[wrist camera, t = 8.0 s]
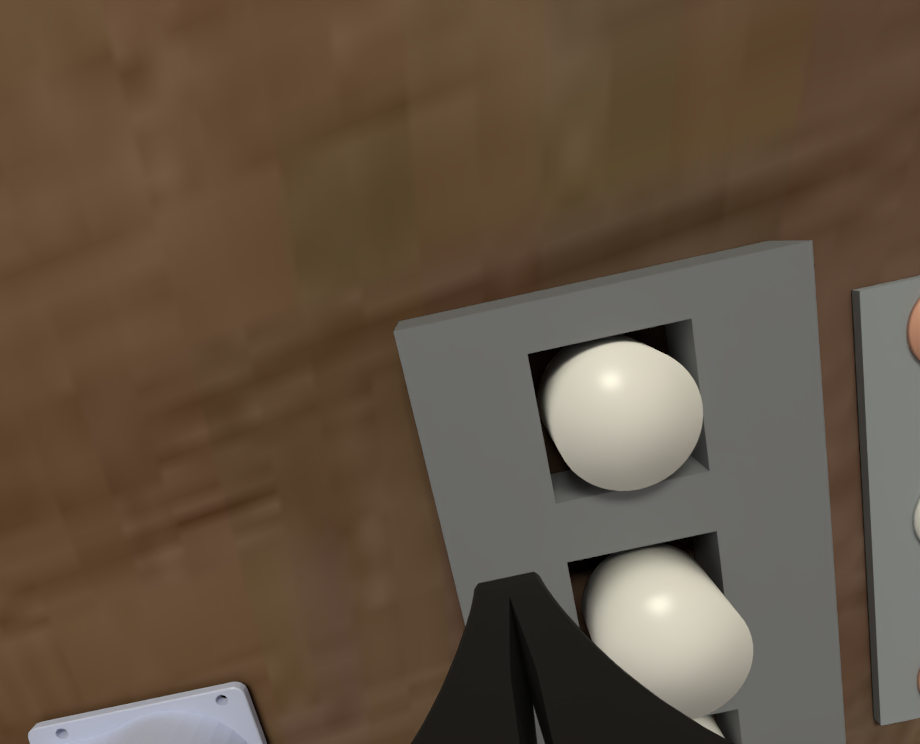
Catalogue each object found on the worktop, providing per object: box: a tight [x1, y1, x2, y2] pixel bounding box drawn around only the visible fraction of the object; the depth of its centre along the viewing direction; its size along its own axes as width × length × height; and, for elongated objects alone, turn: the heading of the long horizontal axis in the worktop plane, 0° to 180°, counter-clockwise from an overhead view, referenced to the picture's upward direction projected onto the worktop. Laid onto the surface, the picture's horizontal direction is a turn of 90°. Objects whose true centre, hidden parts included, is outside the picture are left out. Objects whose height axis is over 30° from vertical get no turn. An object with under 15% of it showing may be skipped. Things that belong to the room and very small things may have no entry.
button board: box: [394, 240, 846, 744], centre depth 22 cm, size 14×25×2 cm, turn 12°
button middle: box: [582, 543, 753, 719], centre depth 20 cm, size 5×5×3 cm
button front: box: [538, 334, 703, 491], centre depth 20 cm, size 5×5×3 cm
